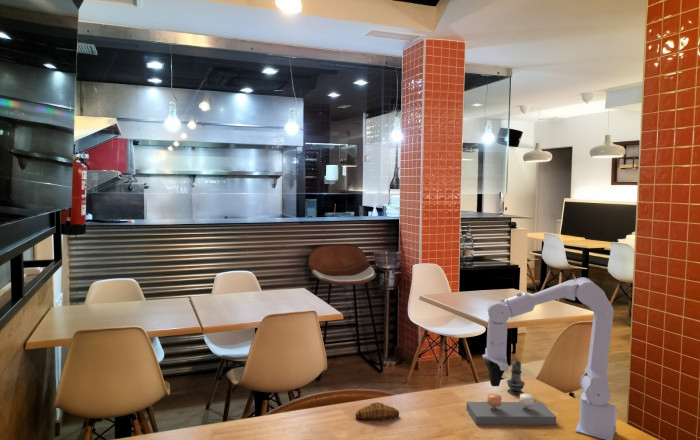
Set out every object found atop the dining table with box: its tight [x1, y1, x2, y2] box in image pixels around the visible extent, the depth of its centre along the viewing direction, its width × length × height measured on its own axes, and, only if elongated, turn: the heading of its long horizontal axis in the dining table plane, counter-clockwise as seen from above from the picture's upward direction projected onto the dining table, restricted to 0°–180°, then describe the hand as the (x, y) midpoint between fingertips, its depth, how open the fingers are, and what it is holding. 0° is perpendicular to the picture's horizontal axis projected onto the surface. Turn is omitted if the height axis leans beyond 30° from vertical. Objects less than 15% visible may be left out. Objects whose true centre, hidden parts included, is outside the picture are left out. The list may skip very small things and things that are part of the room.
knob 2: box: [519, 393, 535, 410], centre depth 149 cm, size 4×4×5 cm
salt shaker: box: [506, 358, 526, 397], centre depth 167 cm, size 6×6×12 cm
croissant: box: [354, 401, 400, 421], centre depth 146 cm, size 14×7×5 cm, turn 100°
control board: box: [465, 401, 557, 426], centre depth 149 cm, size 24×10×2 cm, turn 92°
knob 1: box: [486, 392, 502, 410], centre depth 148 cm, size 4×4×5 cm
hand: (494, 385), depth 148 cm, fingers closed
